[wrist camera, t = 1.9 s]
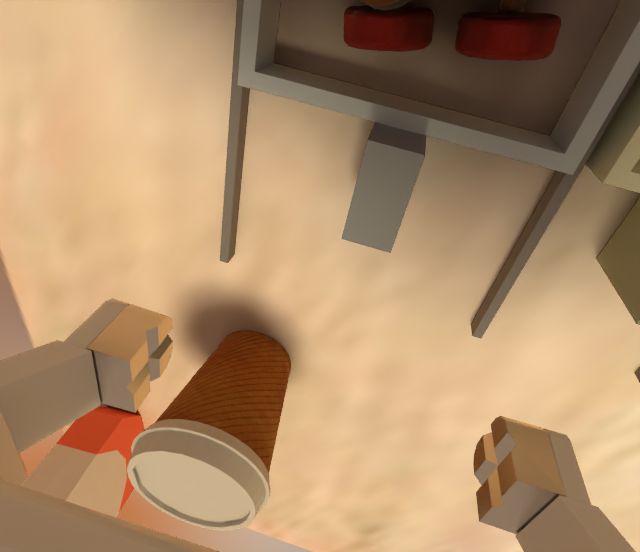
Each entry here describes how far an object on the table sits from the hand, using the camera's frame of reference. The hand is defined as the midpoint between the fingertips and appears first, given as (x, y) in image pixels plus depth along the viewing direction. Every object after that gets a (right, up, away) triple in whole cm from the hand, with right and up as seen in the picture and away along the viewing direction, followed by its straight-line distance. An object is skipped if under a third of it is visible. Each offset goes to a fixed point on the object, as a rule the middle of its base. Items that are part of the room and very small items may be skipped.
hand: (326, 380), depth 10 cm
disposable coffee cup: (-6, -4, +26) cm, 27 cm away
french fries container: (-21, -14, +37) cm, 45 cm away
